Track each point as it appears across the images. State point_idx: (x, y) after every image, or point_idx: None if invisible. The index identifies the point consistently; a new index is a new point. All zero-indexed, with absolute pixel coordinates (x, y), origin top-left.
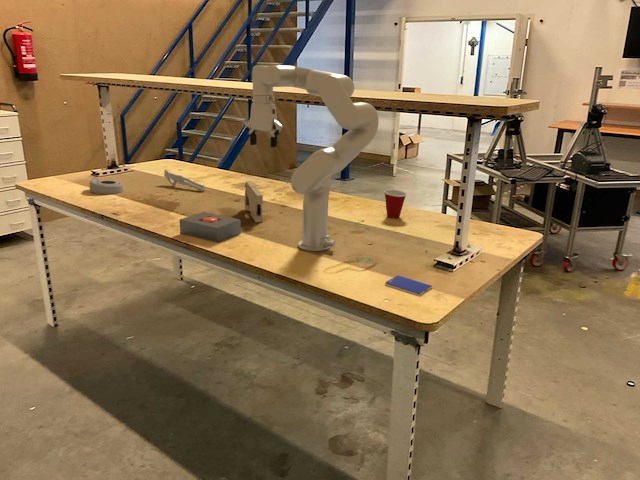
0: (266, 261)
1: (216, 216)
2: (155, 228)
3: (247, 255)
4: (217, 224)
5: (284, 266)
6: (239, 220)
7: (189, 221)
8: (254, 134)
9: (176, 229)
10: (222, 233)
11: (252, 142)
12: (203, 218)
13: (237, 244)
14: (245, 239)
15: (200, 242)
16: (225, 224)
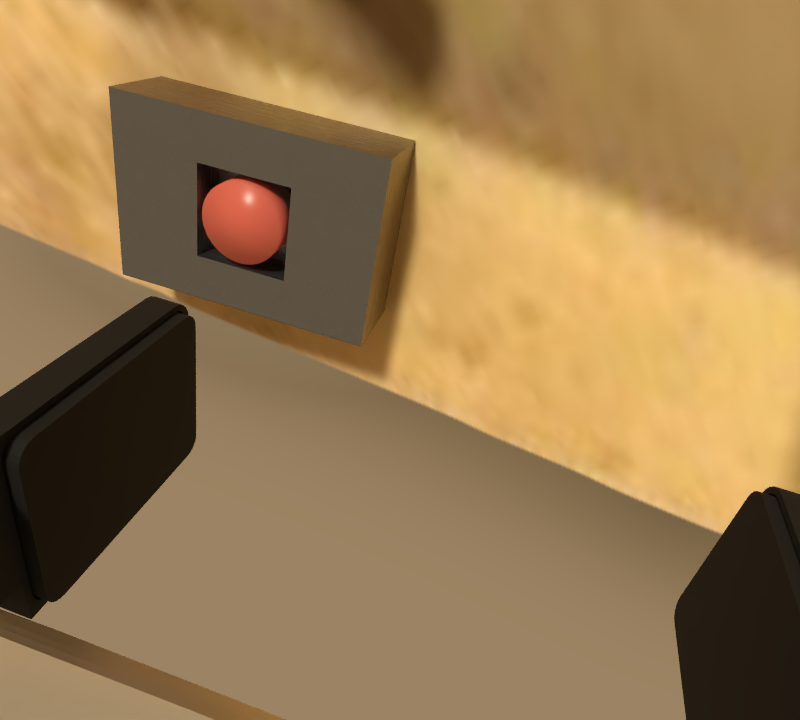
0: (688, 463)
1: (231, 151)
2: (34, 216)
3: (580, 420)
4: (328, 293)
5: None
6: (391, 168)
7: (182, 289)
8: (11, 512)
9: (109, 196)
10: (378, 297)
11: (169, 464)
12: (205, 225)
13: (478, 306)
14: (483, 225)
15: None
16: (364, 280)
